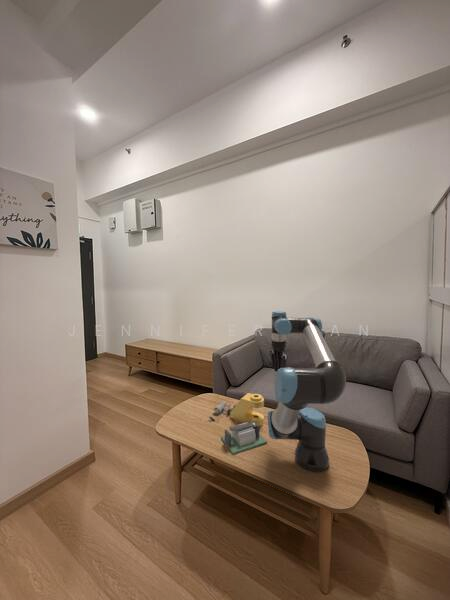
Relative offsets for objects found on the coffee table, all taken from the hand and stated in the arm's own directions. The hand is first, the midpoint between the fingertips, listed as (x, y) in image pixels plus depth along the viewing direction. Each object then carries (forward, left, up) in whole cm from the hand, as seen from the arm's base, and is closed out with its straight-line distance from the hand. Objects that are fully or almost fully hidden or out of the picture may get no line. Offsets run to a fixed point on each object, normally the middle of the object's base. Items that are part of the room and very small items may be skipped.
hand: (278, 383), depth 133 cm
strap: (+4, +20, -22) cm, 30 cm away
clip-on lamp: (+32, +19, -30) cm, 48 cm away
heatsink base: (+4, +19, -29) cm, 35 cm away
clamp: (+21, +6, -30) cm, 37 cm away
